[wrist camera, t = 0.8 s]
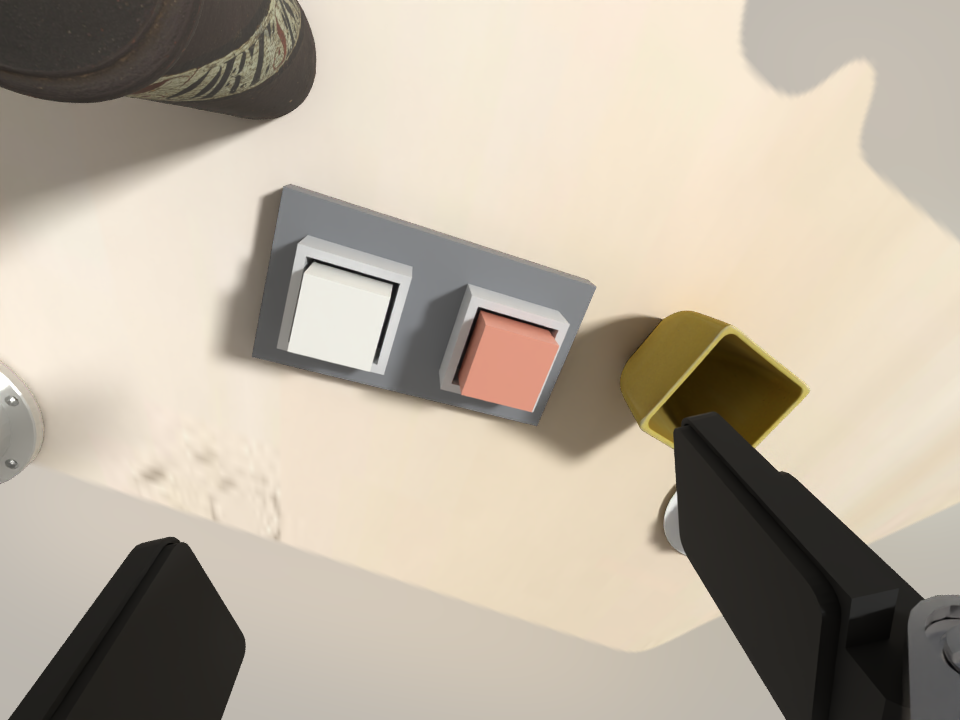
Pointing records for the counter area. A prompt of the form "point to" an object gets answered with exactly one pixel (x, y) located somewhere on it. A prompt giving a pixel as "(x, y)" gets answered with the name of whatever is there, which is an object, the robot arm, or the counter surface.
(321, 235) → the push button panel
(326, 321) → the white key
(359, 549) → the counter surface
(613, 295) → the counter surface
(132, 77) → the container
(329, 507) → the counter surface
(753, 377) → the flower pot
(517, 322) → the brick key
